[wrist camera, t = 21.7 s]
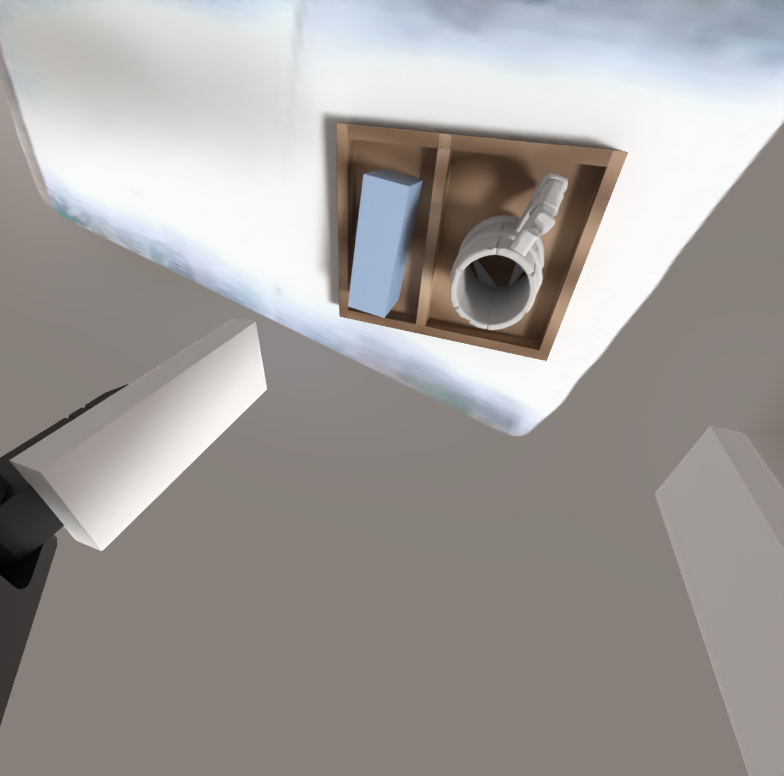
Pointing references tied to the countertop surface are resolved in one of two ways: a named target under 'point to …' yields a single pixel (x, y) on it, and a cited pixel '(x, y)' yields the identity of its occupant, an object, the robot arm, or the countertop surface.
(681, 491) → the robot arm
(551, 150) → the tray
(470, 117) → the countertop surface
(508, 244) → the mug
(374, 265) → the long blue-grey cuboid
